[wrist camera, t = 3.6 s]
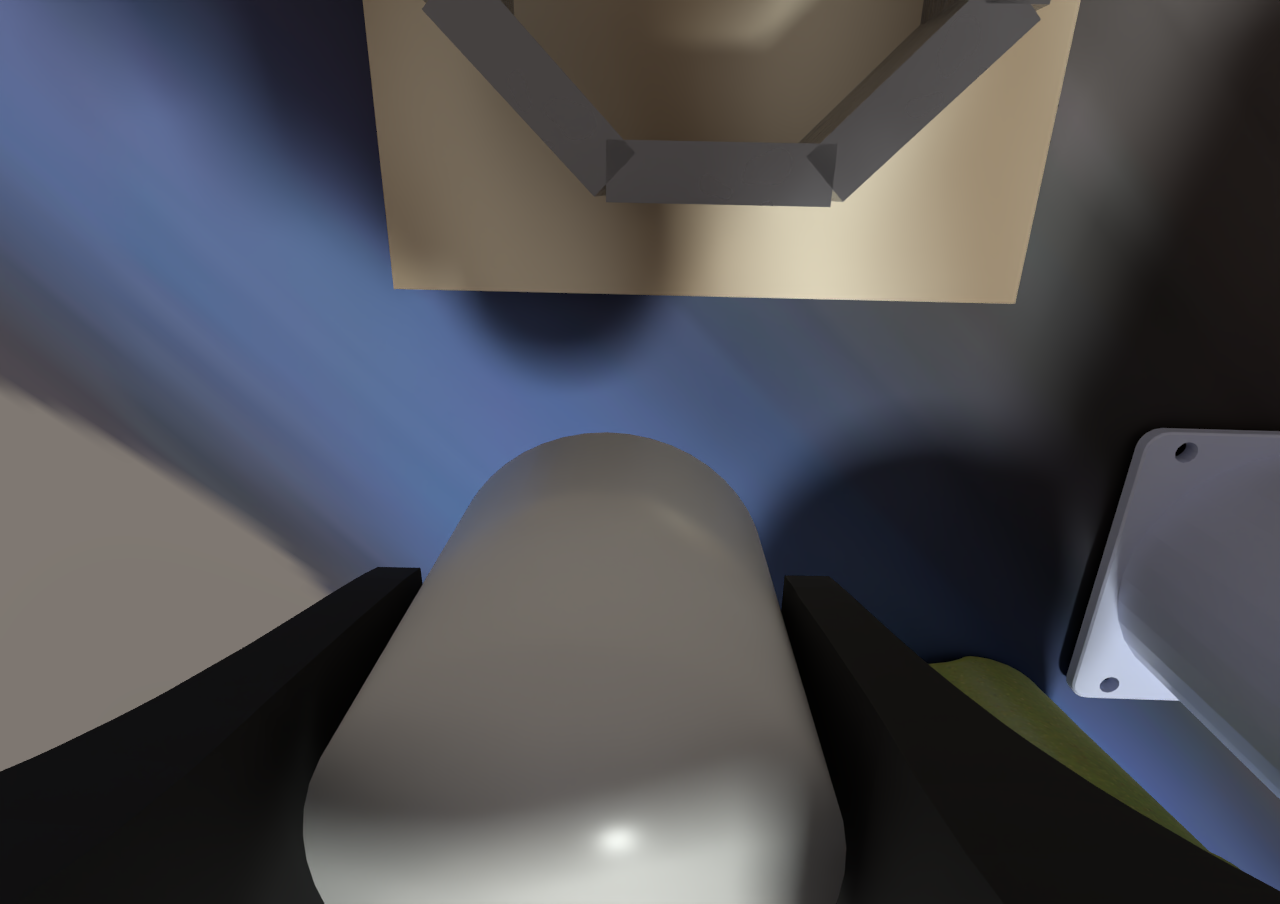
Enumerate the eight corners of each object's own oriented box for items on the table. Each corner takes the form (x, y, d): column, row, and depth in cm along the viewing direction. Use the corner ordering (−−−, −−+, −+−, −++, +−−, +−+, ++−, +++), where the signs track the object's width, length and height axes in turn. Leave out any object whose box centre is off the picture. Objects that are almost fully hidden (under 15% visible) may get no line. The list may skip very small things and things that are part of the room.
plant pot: (727, 771, 21) (768, 1124, 13) (916, 545, 18) (1117, 824, 10) (961, 882, 23) (1125, 1261, 15) (1172, 691, 20) (1524, 1035, 12)
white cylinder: (776, 434, 10) (880, 648, 5) (753, 705, 12) (817, 1041, 7) (438, 430, 10) (253, 637, 5) (467, 699, 12) (346, 1029, 7)
